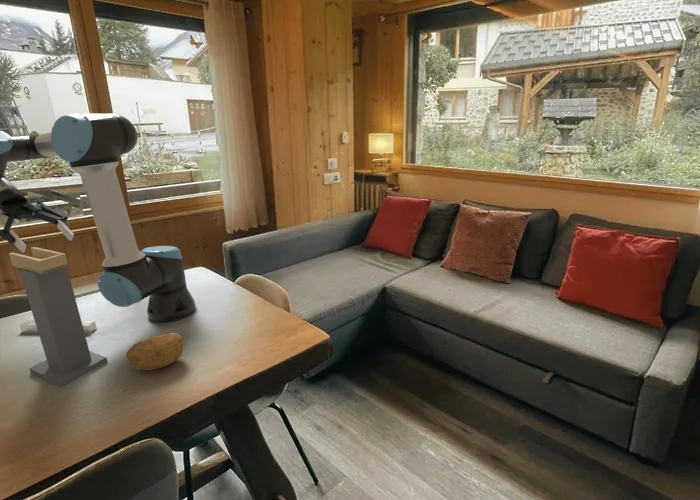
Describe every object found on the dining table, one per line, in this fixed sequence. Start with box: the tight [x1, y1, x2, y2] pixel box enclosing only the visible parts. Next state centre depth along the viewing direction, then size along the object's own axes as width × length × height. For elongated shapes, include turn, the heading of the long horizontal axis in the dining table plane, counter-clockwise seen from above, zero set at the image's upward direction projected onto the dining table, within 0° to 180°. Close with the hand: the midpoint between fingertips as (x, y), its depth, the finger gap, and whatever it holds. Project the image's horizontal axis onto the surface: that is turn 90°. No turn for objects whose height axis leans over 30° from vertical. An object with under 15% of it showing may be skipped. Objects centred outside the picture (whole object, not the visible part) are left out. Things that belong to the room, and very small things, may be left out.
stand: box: [8, 246, 109, 389], centre depth 104 cm, size 14×12×32 cm
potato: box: [125, 332, 185, 371], centre depth 108 cm, size 10×14×8 cm
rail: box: [18, 319, 97, 334], centre depth 129 cm, size 23×3×3 cm, turn 86°
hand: (49, 243), depth 123 cm, fingers open, 13 cm apart
